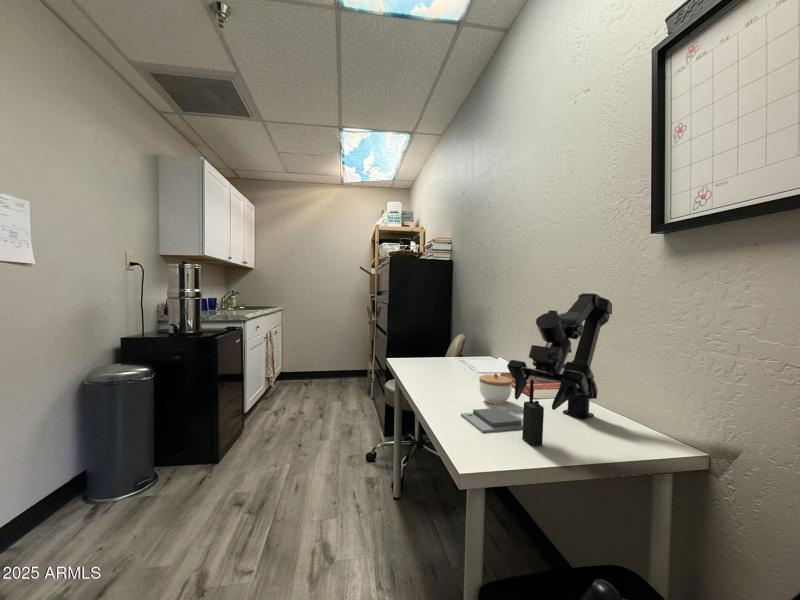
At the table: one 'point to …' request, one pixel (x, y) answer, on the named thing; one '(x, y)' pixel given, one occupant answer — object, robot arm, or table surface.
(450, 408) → the table surface
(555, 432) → the table surface
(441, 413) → the table surface
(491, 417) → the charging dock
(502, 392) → the lidded jar
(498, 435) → the table surface
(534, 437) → the walkie-talkie
